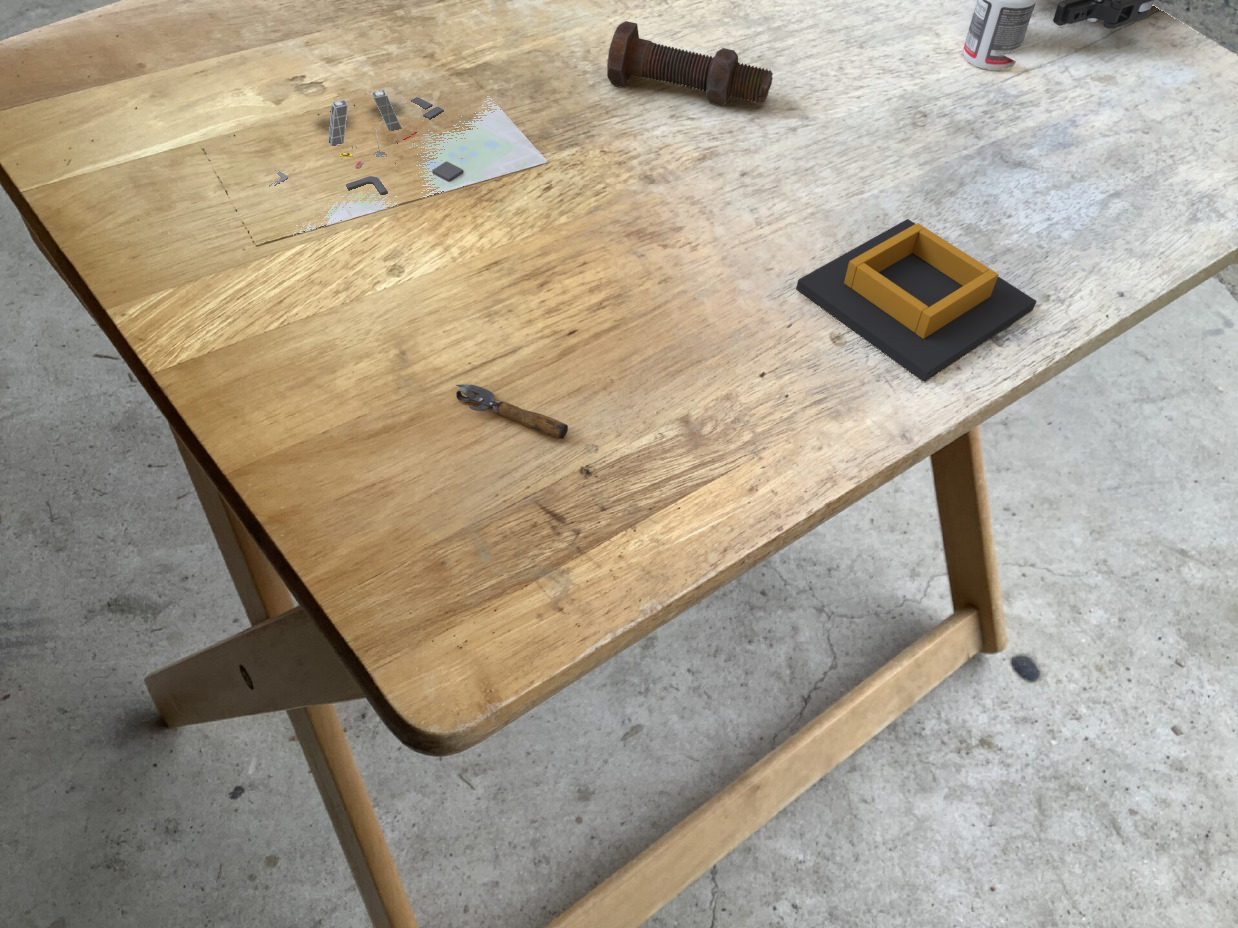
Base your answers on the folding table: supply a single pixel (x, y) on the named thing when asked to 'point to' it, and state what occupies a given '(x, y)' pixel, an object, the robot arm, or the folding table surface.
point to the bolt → (685, 68)
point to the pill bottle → (997, 32)
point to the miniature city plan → (482, 152)
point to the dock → (916, 298)
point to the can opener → (511, 411)
